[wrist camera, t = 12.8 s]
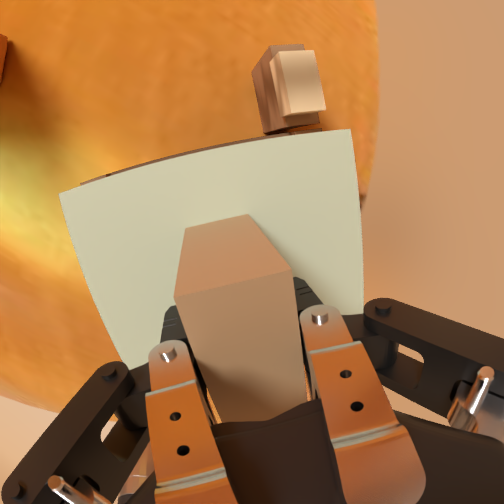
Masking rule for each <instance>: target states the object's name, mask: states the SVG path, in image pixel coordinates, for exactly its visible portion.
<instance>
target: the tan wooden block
mask: <svg viewBox="0 0 504 504" xmlns="http://www.w3.org/2000/svg"><path fill="white" fill-rule="evenodd" d="M269 63H270V68H271V72H272V77H273V82H274V87H275V91H276V96H277V101H278V107H279V112H280V117H287V116H296V115H305V114H313V113H316V112H320V111H324V110H326V106H325V101H324V95H323V90H322V86H321V81H320V76H319V71H318V67H317V63H316V58H315V54H314V50H300V51H280V52H278V53H277V54H276V55H275V56H274V57H273V59H272V60H271V61H270V62H269Z"/></svg>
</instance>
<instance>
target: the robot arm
mask: <svg viewBox="0 0 504 504" xmlns="http://www.w3.org/2000/svg"><path fill="white" fill-rule="evenodd" d="M293 282H294V290H295V297H296V305H297V313H298V321H299V329H300V337H301V346H302V355H303V363H304V365H305V371H306V378H307V383H308V388H309V393H310V398H311V401H308V402H305V403H301V404H299V405H297V406H296V407H294V408H292V409H290V410H288V411H286V412H284V413H282V414H280V415H278V416H276V417H274V418H272V419H269V420H266V421H244V422H225V423H220V424H217V421H216V418H215V416H214V413H213V410H212V407H211V405H210V402H209V399H208V397H207V387H206V384H205V381H204V379H203V376H202V374H201V371H200V369H199V366H198V364H197V361H196V359H195V356H194V353H193V351H192V348H191V346H190V343H189V340H188V338H187V335H186V332H185V329H184V326H183V324H182V321H181V318H180V315H179V312H178V309H177V306H176V305H174V306H170V307H169V309H168V310H167V311H166V312H165V315H164V322H163V328H162V333H161V339H160V344H158V345H156V346H155V347H154V348H153V349H152V350H151V351H150V353H149V355H148V361H149V362H147V363H146V364H144V365H141V366H139V367H136V368H134V369H131V370H129V369H128V367H127V365H126V364H125V363H123V362H119V361H114V362H110V363H107V364H105V365H103V366H101V367H100V368H98V369H97V370H96V372H95V373H94V374H93V375H92V376H91V377H90V378H89V380H88V381H87V382H86V383H85V384H84V385H83V386H82V388H81V389H80V390H79V391H78V392H77V393H76V395H75V396H74V397H73V398H72V399H71V400H70V402H69V403H68V404H67V405H66V406H65V408H64V409H63V410H62V411H61V412H60V414H59V415H58V416H57V417H56V418H55V420H54V421H53V422H52V423H51V424H50V426H49V427H48V428H47V429H46V430H45V432H44V433H43V434H42V435H41V437H40V438H39V439H38V440H37V442H36V443H35V444H34V445H33V447H32V448H31V449H30V450H29V452H28V453H27V454H26V455H25V457H24V458H23V459H22V460H21V462H20V463H19V464H18V466H17V467H16V468H15V469H14V471H13V472H12V473H11V475H10V476H9V477H8V479H7V480H6V481H5V483H4V485H3V487H2V492H1V493H2V494H1V496H2V501H3V503H4V504H113V503H114V501H115V499H116V498H117V496H118V504H504V339H503V338H500V337H497V336H494V335H491V334H489V333H486V332H483V331H480V330H478V329H475V328H472V327H469V326H466V325H463V324H461V323H458V322H455V321H452V320H449V319H447V318H444V317H441V316H438V315H436V314H433V313H430V312H427V311H424V310H422V309H419V308H416V307H413V306H410V305H407V304H404V303H402V302H399V301H396V300H393V299H390V298H377V299H373V300H371V301H369V302H367V303H366V304H365V306H364V309H363V314H354V315H341V314H340V311H339V310H338V309H337V308H335V307H334V306H331V305H324V304H323V303H322V301H321V300H320V299H319V298H318V296H317V295H316V294H315V293H314V292H313V290H312V289H311V288H310V287H309V285H308V284H307V283H306V281H305V280H303V279H300V278H298V277H293ZM399 344H401V345H403V346H406V347H408V348H410V349H412V350H415V351H417V352H418V353H420V354H421V355H422V357H423V359H424V363H422V362H419V361H417V360H415V359H413V358H411V357H408V356H406V355H404V354H402V353H400V352H398V347H399ZM382 385H383V386H385V387H387V388H389V389H390V390H392V391H394V392H396V393H398V394H400V395H402V396H404V397H405V398H407V399H409V400H411V401H413V402H416V403H417V404H419V405H421V406H423V407H425V408H427V409H429V410H431V411H433V412H435V413H437V414H439V415H441V416H443V417H445V418H447V419H448V422H449V424H450V426H451V427H449V426H445V425H442V424H438V423H435V422H431V421H427V420H424V419H420V418H418V417H414V416H411V415H408V414H405V413H402V412H399V411H395V410H393V409H392V407H391V405H390V402H389V400H388V398H387V396H386V393H385V391H384V389H383V387H382ZM113 413H114V414H115V416H116V417H117V418H118V421H117V422H116V424H115V425H114V427H113V428H112V429H111V431H110V432H109V434H108V435H107V437H106V438H105V440H104V441H103V442H102V441H101V436H100V435H101V431H102V429H103V427H104V426H105V425H106V423H107V422H108V420H109V419H110V418H111V416H112V415H113Z"/></svg>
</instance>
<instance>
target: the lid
mask: <svg viewBox="0 0 504 504" xmlns="http://www.w3.org/2000/svg"><path fill="white" fill-rule="evenodd" d="M59 198H60V202H61V206H62V210H63V213H64V217H65V220H66V224H67V227H68V230H69V234H70V237H71V240H72V243H73V246H74V249H75V252H76V255H77V258H78V261H79V264H80V266H81V269H82V272H83V274H84V277H85V280H86V282H87V285H88V287H89V290H90V292H91V295H92V297H93V300H94V302H95V304H96V307H97V309H98V311H99V314H100V316H101V318H102V320H103V322H104V325H105V327H106V329H107V331H108V333H109V335H110V337H111V339H112V341H113V343H114V345H115V347H116V349H117V351H118V353H119V355H120V357H121V359H122V361H123V363H125V364H126V365H127V367H128V369H129V370H131V369H134V368H136V367H139V366H141V365H144V364H146V363H147V362H149V361H148V355H149V353H150V351H151V350H152V349H153V348H154V347H155V346H156V345H158V344H160V339H161V333H162V328H163V322H164V315H165V312H166V311H167V310H168V309H169V307H170V306H174V305H176V306H177V309H178V312H179V315H180V318H181V321H182V324H183V326H184V329H185V332H186V335H187V338H188V340H189V343H190V346H191V348H192V351H193V353H194V356H195V359H196V361H197V364H198V366H199V369H200V371H201V374H202V376H203V379H204V381H205V384H206V386H207V388H208V391H209V393H210V396H211V398H212V400H213V403H214V405H215V407H216V410H217V412H218V414H219V416H220V419H221V421H222V423H225V422H244V421H266V420H269V419H272V418H274V417H276V416H278V415H280V414H282V413H284V412H286V411H288V410H290V409H292V408H294V407H296V406H297V405H299V404H301V403H305V402H307V393H306V383H305V373H304V364H303V355H302V346H301V337H300V329H299V321H298V313H297V305H296V297H295V290H294V282H293V277H298V278H300V279H303V280H305V281H306V283H307V284H308V285H309V287H310V288H311V289H312V290H313V292H314V293H315V294H316V295H317V296H318V298H319V299H320V300H321V301H322V303H323V304H324V305H331V306H334V307H335V308H337V309H338V310H339V311H340V314H341V315H354V314H363V309H364V278H363V248H362V230H361V215H360V203H359V192H358V182H357V173H356V165H355V157H354V150H353V143H352V136H351V130H350V129H344V130H333V131H323V132H314V133H306V134H298V135H291V136H283V137H277V138H270V139H264V140H258V141H252V142H246V143H241V144H235V145H230V146H225V147H220V148H215V149H211V150H206V151H201V152H197V153H193V154H188V155H184V156H180V157H176V158H172V159H168V160H164V161H160V162H156V163H153V164H149V165H145V166H142V167H138V168H135V169H131V170H128V171H125V172H121V173H118V174H115V175H112V176H109V177H105V178H102V179H99V180H96V181H93V182H90V183H87V184H84V185H82V186H79V187H76V188H73V189H70V190H68V191H65V192H62V193H60V194H59Z"/></svg>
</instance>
